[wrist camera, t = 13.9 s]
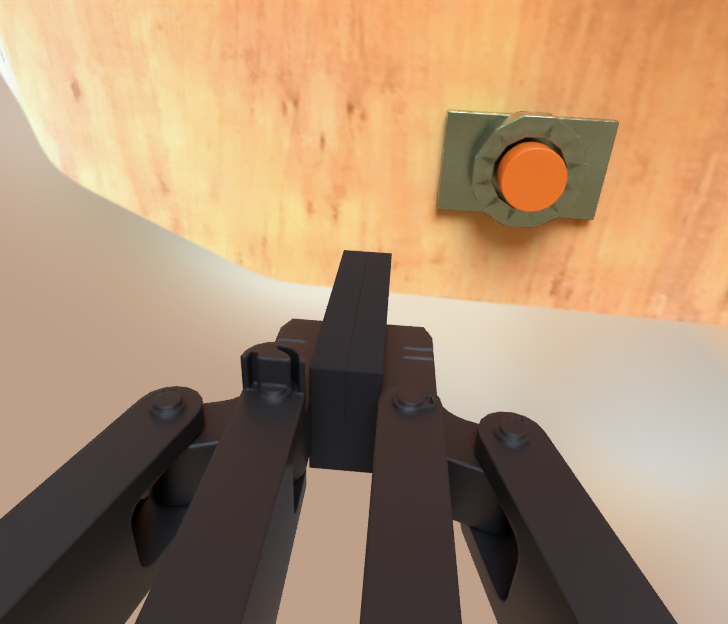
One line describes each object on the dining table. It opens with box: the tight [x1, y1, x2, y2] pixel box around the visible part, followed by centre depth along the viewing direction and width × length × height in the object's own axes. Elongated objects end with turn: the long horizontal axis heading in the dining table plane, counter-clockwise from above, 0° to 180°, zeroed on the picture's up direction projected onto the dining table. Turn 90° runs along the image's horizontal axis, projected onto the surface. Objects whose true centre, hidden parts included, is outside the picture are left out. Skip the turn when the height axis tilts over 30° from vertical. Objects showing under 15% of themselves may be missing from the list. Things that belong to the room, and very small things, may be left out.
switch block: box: [437, 110, 619, 228], centre depth 32 cm, size 10×6×2 cm, turn 87°
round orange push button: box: [497, 142, 567, 212], centre depth 30 cm, size 4×4×2 cm
